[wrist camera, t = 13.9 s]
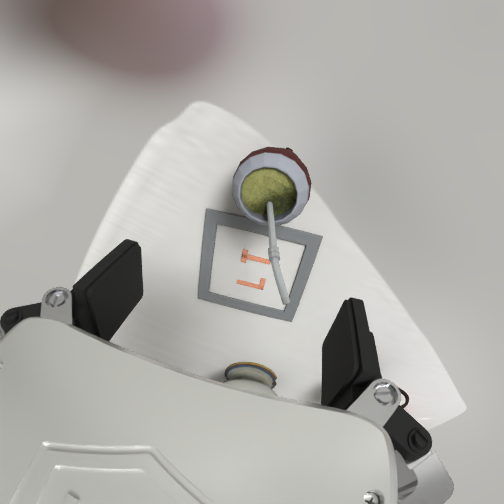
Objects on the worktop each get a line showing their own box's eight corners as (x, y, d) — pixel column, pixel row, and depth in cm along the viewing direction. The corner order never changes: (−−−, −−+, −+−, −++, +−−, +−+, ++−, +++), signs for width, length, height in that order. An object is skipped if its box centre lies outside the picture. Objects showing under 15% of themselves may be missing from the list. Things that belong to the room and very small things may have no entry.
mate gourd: (261, 130, 27) (223, 151, 14) (328, 165, 27) (350, 219, 15) (233, 188, 31) (181, 255, 18) (295, 220, 31) (286, 307, 18)
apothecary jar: (284, 394, 49) (272, 475, 34) (226, 390, 52) (204, 466, 37) (281, 359, 44) (266, 457, 28) (213, 355, 46) (182, 444, 31)
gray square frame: (291, 320, 39) (291, 321, 39) (198, 296, 40) (197, 298, 39) (322, 236, 32) (322, 237, 31) (207, 208, 32) (206, 209, 32)
